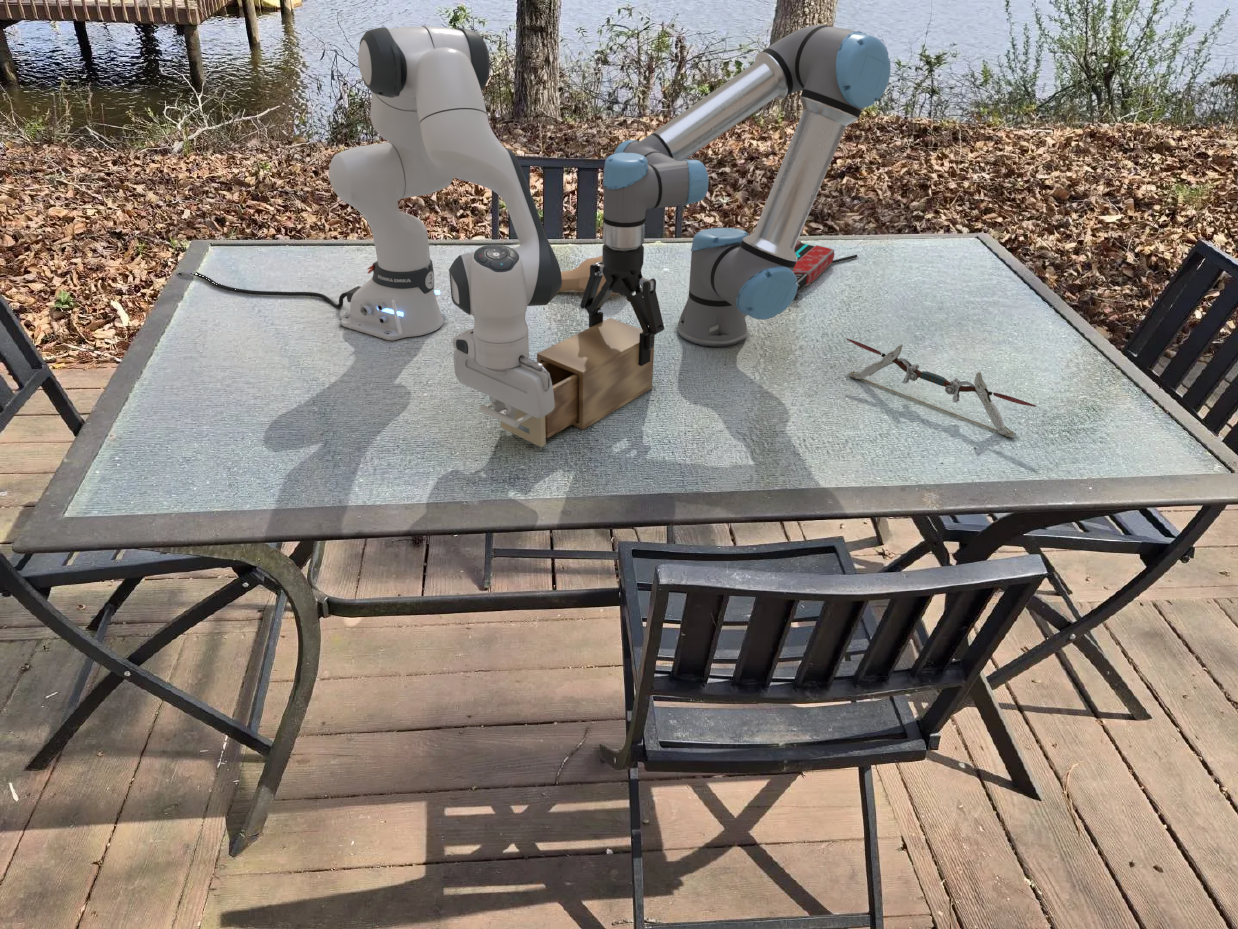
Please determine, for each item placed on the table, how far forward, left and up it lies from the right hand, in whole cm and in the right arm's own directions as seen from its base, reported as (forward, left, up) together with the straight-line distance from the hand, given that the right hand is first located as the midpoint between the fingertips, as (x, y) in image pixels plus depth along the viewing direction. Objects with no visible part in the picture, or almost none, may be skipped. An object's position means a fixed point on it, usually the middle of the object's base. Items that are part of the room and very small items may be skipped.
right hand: (620, 353), depth 170 cm
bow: (-34, +50, -7) cm, 61 cm away
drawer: (+21, 0, -6) cm, 22 cm away
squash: (-32, -35, -7) cm, 48 cm away
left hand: (+31, 0, -1) cm, 31 cm away
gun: (-74, -6, -7) cm, 74 cm away
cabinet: (+7, 0, -7) cm, 10 cm away
